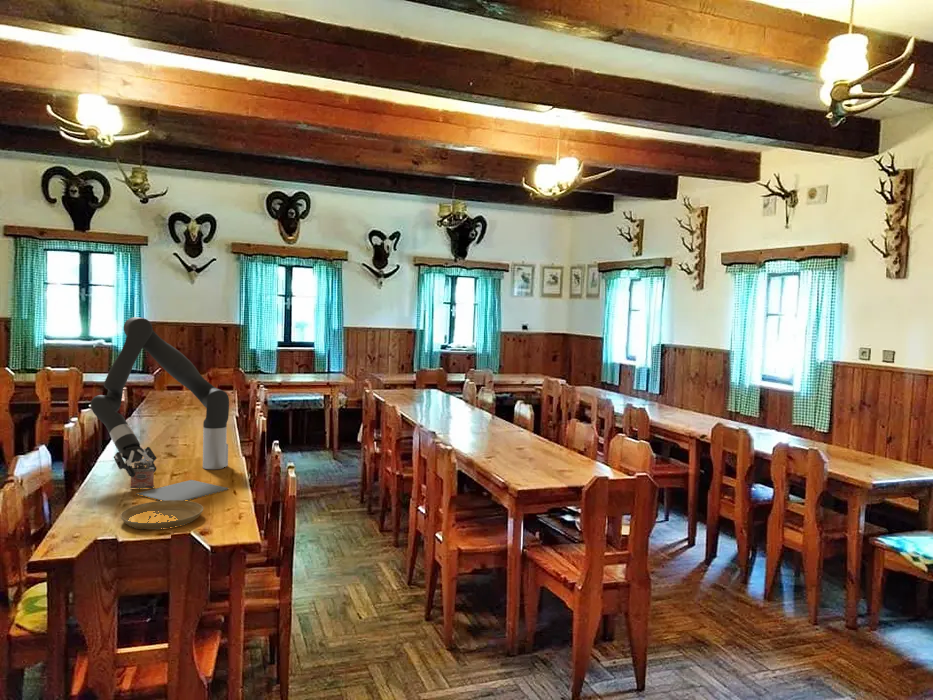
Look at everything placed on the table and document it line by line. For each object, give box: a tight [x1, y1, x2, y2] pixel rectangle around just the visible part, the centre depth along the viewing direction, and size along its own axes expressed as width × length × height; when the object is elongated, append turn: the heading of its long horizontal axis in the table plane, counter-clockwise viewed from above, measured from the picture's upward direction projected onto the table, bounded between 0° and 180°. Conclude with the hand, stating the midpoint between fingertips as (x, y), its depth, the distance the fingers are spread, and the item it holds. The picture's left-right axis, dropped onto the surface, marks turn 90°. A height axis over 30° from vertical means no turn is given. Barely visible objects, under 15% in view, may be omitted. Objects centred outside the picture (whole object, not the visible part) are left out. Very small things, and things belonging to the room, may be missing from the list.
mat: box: [135, 479, 229, 501], centre depth 251 cm, size 24×20×1 cm
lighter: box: [129, 461, 155, 489], centre depth 254 cm, size 8×3×10 cm, turn 105°
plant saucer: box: [120, 500, 204, 530], centre depth 219 cm, size 24×24×3 cm
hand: (144, 473), depth 253 cm, fingers open, 8 cm apart
